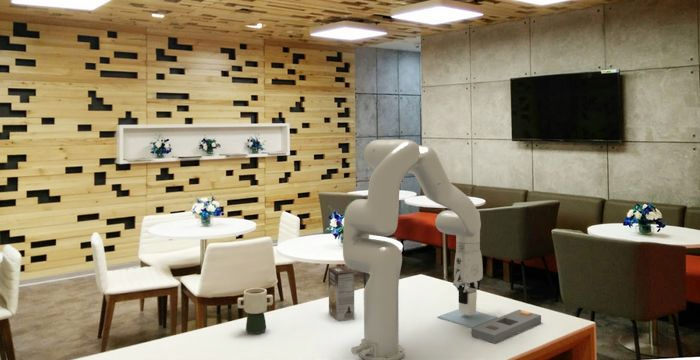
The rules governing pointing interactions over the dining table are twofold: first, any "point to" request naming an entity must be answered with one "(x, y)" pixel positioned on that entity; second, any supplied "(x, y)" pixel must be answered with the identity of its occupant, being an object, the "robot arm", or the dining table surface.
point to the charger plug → (469, 303)
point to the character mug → (255, 308)
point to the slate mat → (467, 318)
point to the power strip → (505, 326)
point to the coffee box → (341, 293)
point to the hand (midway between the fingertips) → (467, 301)
